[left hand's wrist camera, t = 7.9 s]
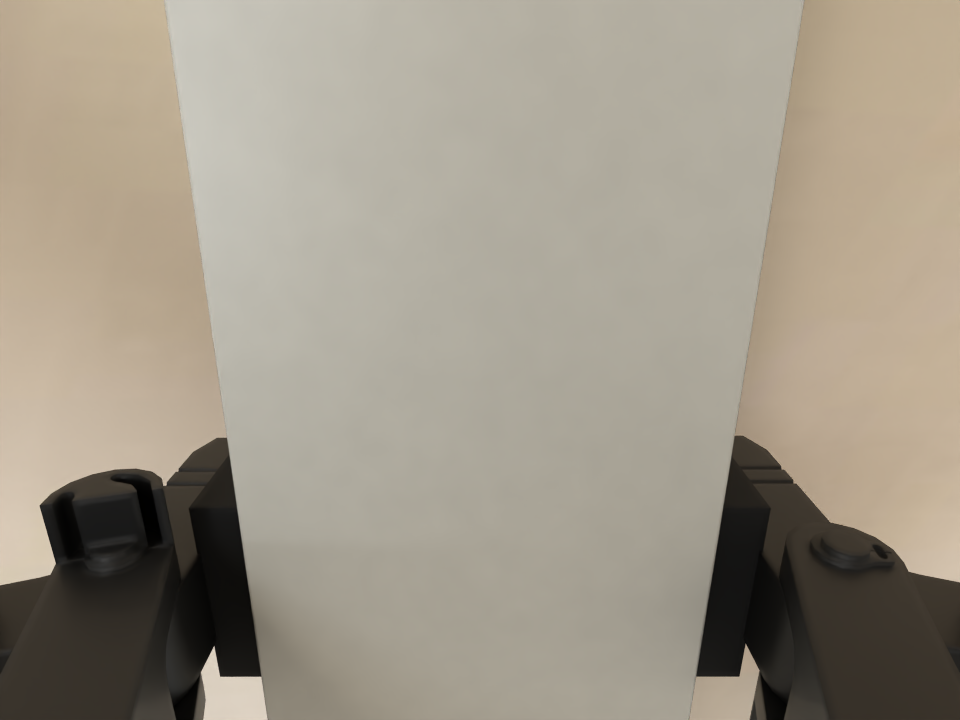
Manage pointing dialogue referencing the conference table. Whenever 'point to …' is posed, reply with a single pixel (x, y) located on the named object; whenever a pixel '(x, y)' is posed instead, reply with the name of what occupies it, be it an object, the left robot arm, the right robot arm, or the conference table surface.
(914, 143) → the conference table surface
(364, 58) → the beam
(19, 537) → the conference table surface
